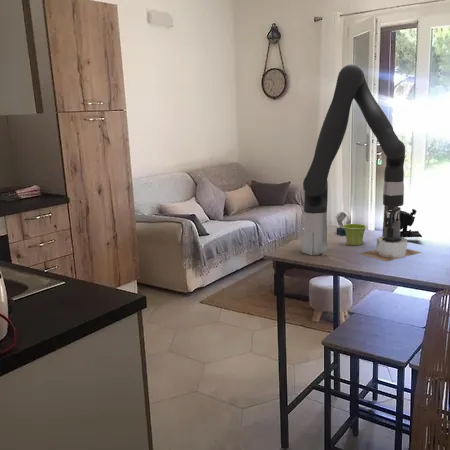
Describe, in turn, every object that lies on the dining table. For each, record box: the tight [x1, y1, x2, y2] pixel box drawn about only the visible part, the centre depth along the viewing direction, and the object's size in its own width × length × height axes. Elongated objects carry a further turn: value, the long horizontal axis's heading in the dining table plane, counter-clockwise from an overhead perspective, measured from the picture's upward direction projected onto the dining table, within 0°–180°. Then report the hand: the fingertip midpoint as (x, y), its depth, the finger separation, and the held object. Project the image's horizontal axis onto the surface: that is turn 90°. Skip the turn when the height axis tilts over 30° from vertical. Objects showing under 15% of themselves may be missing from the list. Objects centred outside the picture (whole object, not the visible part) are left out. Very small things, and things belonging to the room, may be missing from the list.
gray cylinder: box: [384, 220, 401, 242], centre depth 194 cm, size 6×6×8 cm
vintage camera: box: [381, 205, 423, 243], centre depth 215 cm, size 10×16×20 cm, turn 78°
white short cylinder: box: [376, 236, 408, 259], centre depth 195 cm, size 11×11×6 cm
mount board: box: [358, 248, 423, 262], centre depth 198 cm, size 20×14×1 cm
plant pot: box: [343, 223, 367, 246], centre depth 213 cm, size 9×9×9 cm
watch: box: [335, 210, 352, 237], centre depth 234 cm, size 6×8×11 cm
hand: (392, 235), depth 194 cm, fingers closed on gray cylinder, 5 cm apart
